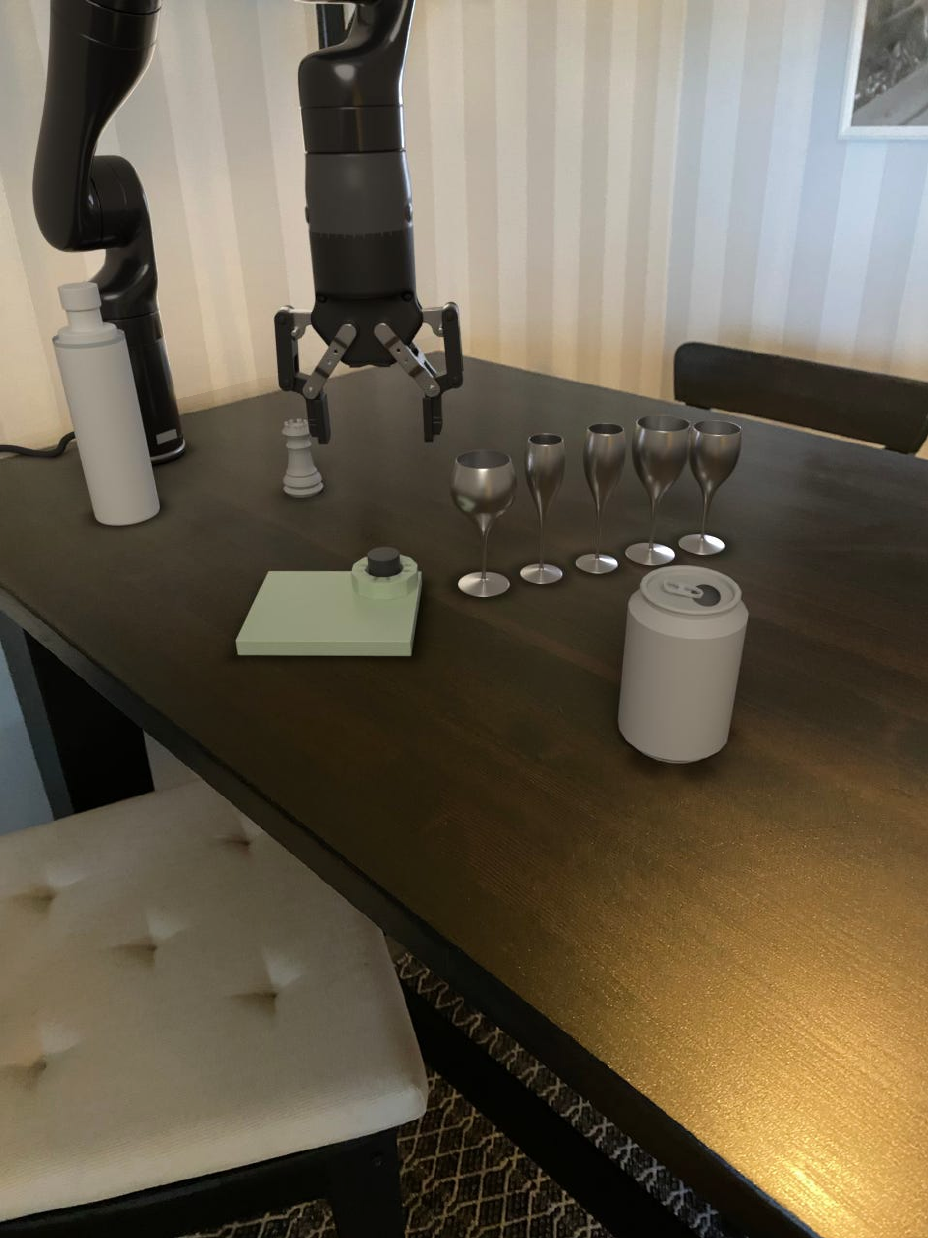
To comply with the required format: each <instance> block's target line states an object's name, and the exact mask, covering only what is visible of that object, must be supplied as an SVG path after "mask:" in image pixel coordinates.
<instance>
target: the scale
mask: <svg viewBox="0 0 928 1238" xmlns="http://www.w3.org/2000/svg"><path fill="white" fill-rule="evenodd" d="M418 565H419V564H418V563H417V562H415V561H414V560H413V559H412V558H411V557H409V556H407V555H406V556H405V555H403V554H400V567H401V571H400V573H399V574H398V575H395V576H391V577H375V576H371V575H370V574H369V570H368V558H367V556H364V557H362V558H361V559H359V560H358V561H356V562H355V563H353V565H352V568H351V570H350V571H349V570H268V571H267V573H266V574H265V575H266V576H265V578H264V580H263V582H262V584H261V586H260V588H259V590H258V593H257V594H256V597H255V598H254V601H253V603H252V605H251V606H250V609H249V612H248V614H247V615H246V618H245V620H244V622H243V624H242V626H241V629H240V631H239V633H238V635H237V637H236V639H235V646H236V651H237V656H318V657H319V656H326V657H327V656H333V657H334V656H335V657H336V656H338V657H339V656H340V657H341V656H342V657H343V656H344V657H347V656H348V657H349V656H350V657H357V656H358V657H411V656H412V651H413V646H414V638H415V633H416V627H417V619H418V615H419V614H418V613H419V608H420V600H421V593H422V587H423V575H422V574H423V573H422V571H420V570H419V566H418Z"/></svg>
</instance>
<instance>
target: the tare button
mask: <svg viewBox="0 0 928 1238" xmlns="http://www.w3.org/2000/svg"><path fill="white" fill-rule="evenodd" d="M366 555H367V556H366V557H367V558H368V570H369V574H370V575H371V576H375V577H391V576H395V575H398V574H399V573H400V571H401V567H400V555H401V553H400V551H399V550H398V549H396V548H395V547H392V546H391V547H390V546H380V547H374V548H373V549H371V550H369V551H368V552H367V554H366Z"/></svg>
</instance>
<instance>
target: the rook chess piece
mask: <svg viewBox="0 0 928 1238" xmlns="http://www.w3.org/2000/svg"><path fill="white" fill-rule="evenodd" d="M294 421H295V420H294V419H293V418H291V419H288V421H284V427H283V429H282V431H281V433H282V435H283V436H284V437H285V438H286V440H287V442H286V444H285V447H286V448H287V452H288V453H287V454H288V455H287V456H288V457H287V460H288V461H287V463H288V464H287V469H286V470H285V472H286V474H285V475H284V476H283V479H282V482H283V484H284V487H283V491H284V492H285V493H286V495H288V496H289V497H291V498H299V499H304V498H311V497H314V496H317V495H319V494H320V493H321V491H322V489H323V488H324V484H323V483H322V482H321V481H322V480H323V477H322V475H321V473H320V472H319V471H318V469H317V466H315V464H314V460H313V457H312V452H311V446H312V441H311V440H310V436H311V434H310V432H309V426H308V419H302V418H296V422H294Z"/></svg>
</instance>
